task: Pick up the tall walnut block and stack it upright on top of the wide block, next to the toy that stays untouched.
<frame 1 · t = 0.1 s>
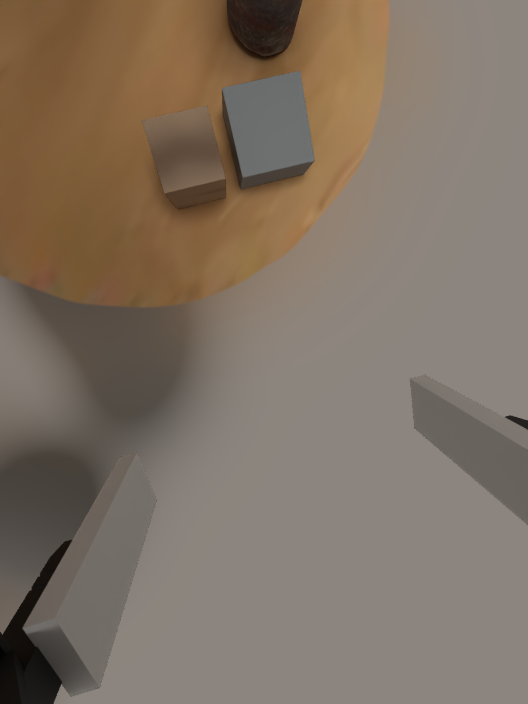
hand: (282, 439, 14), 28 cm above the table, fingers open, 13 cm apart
walnut block: (194, 176, 35), on the table
base block: (264, 145, 35), on the table
candle: (259, 21, 32), on the table
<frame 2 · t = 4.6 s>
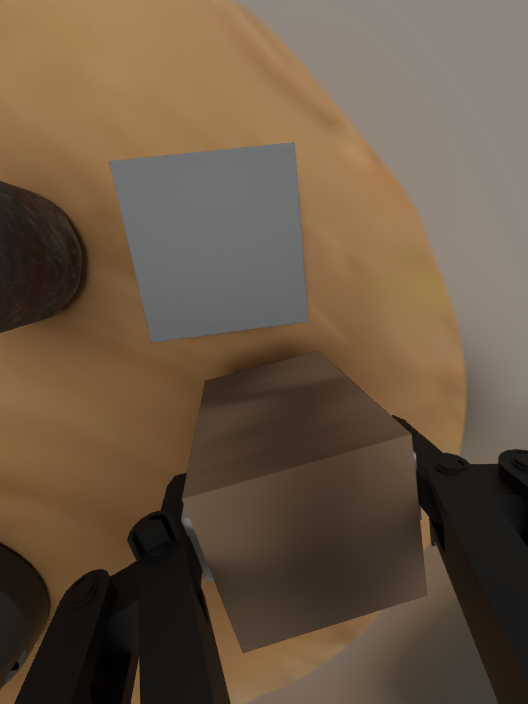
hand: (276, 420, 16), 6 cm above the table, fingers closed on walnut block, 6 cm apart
walnut block: (275, 416, 16), point 5 cm above the table, touching gripper
base block: (223, 253, 19), on the table
candle: (29, 259, 18), on the table
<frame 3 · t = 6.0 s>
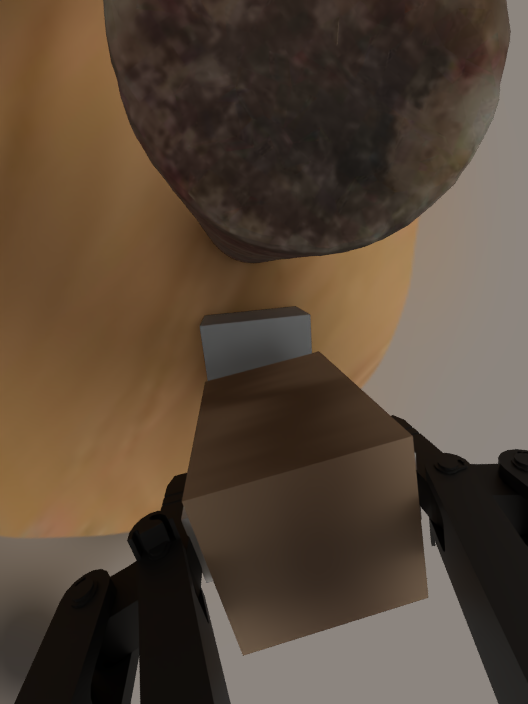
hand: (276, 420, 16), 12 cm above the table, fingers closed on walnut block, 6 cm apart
walnut block: (275, 417, 16), point 12 cm above the table, touching gripper
base block: (254, 353, 27), on the table
candle: (248, 216, 24), on the table
when the fingers open (6 cm above the table, at t = 7.6 s): walnut block stays where it is, point 5 cm above the table.
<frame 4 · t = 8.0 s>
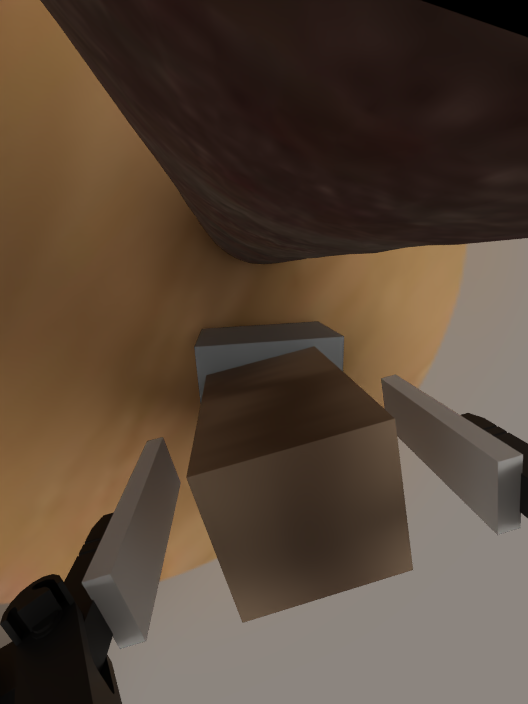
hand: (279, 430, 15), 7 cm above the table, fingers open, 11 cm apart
walnut block: (273, 409, 17), point 5 cm above the table
base block: (263, 378, 21), on the table
candle: (256, 203, 18), on the table
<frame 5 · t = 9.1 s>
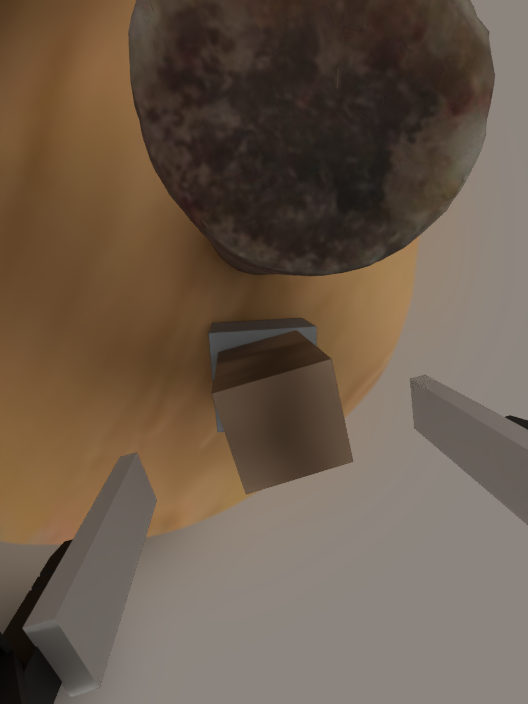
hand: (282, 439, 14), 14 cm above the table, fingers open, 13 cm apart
walnut block: (267, 377, 23), point 5 cm above the table, touching base block
base block: (259, 362, 27), on the table, touching walnut block
candle: (254, 229, 24), on the table
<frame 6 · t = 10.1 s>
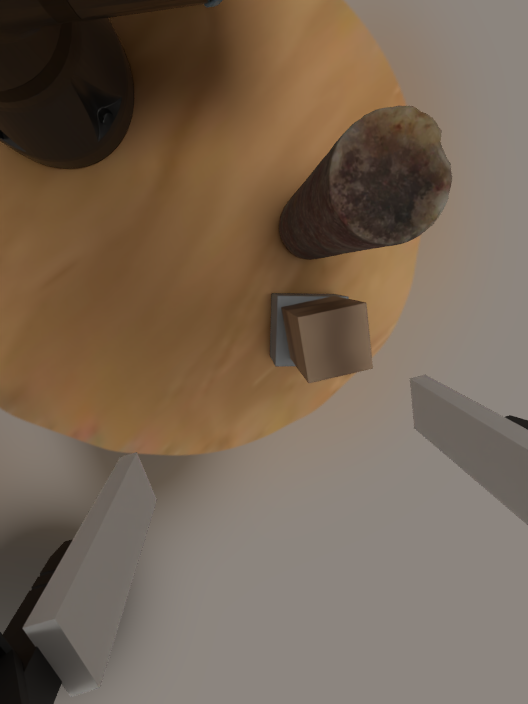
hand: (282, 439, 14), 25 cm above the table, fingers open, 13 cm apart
walnut block: (311, 327, 33), point 5 cm above the table
base block: (301, 324, 38), on the table
candle: (306, 228, 35), on the table
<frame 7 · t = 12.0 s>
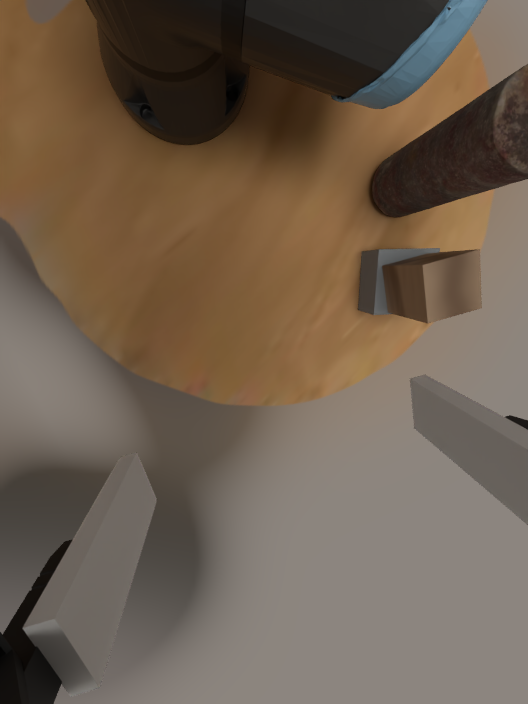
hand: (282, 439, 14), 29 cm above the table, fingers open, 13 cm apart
walnut block: (407, 283, 37), point 5 cm above the table, touching base block
base block: (385, 280, 42), on the table, touching walnut block
candle: (392, 189, 39), on the table
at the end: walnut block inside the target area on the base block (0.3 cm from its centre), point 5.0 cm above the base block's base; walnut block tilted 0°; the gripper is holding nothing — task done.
